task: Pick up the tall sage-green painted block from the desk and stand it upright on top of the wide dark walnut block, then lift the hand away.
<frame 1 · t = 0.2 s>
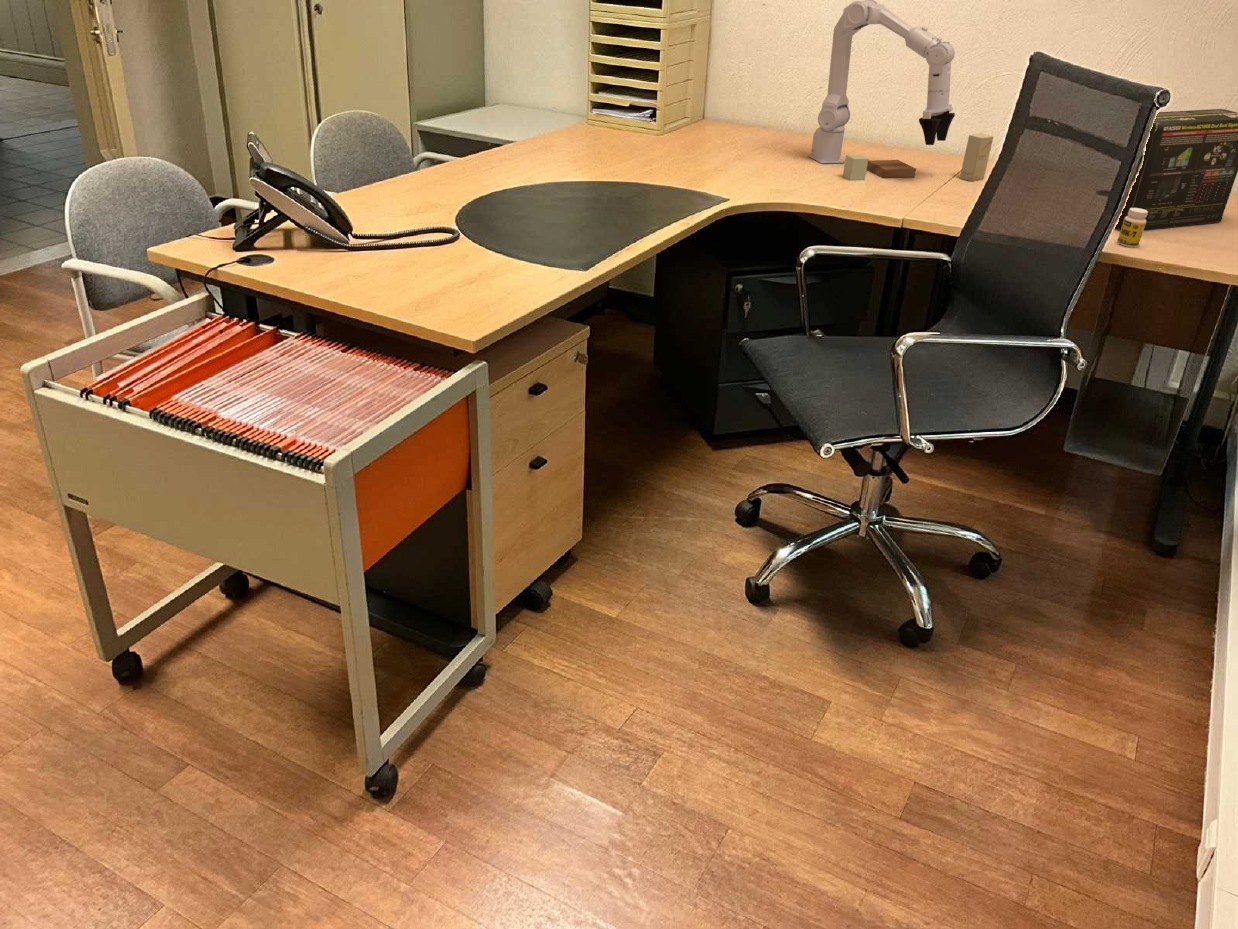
hand: (935, 142, 274), 10 cm above the table, tool pointing down, fingers open, 7 cm apart
sage block: (853, 178, 278), on the table
skincare box: (971, 179, 284), on the table
supplement bottle: (1127, 245, 236), on the table
router box: (1156, 222, 255), on the table
walnut block: (889, 174, 285), on the table
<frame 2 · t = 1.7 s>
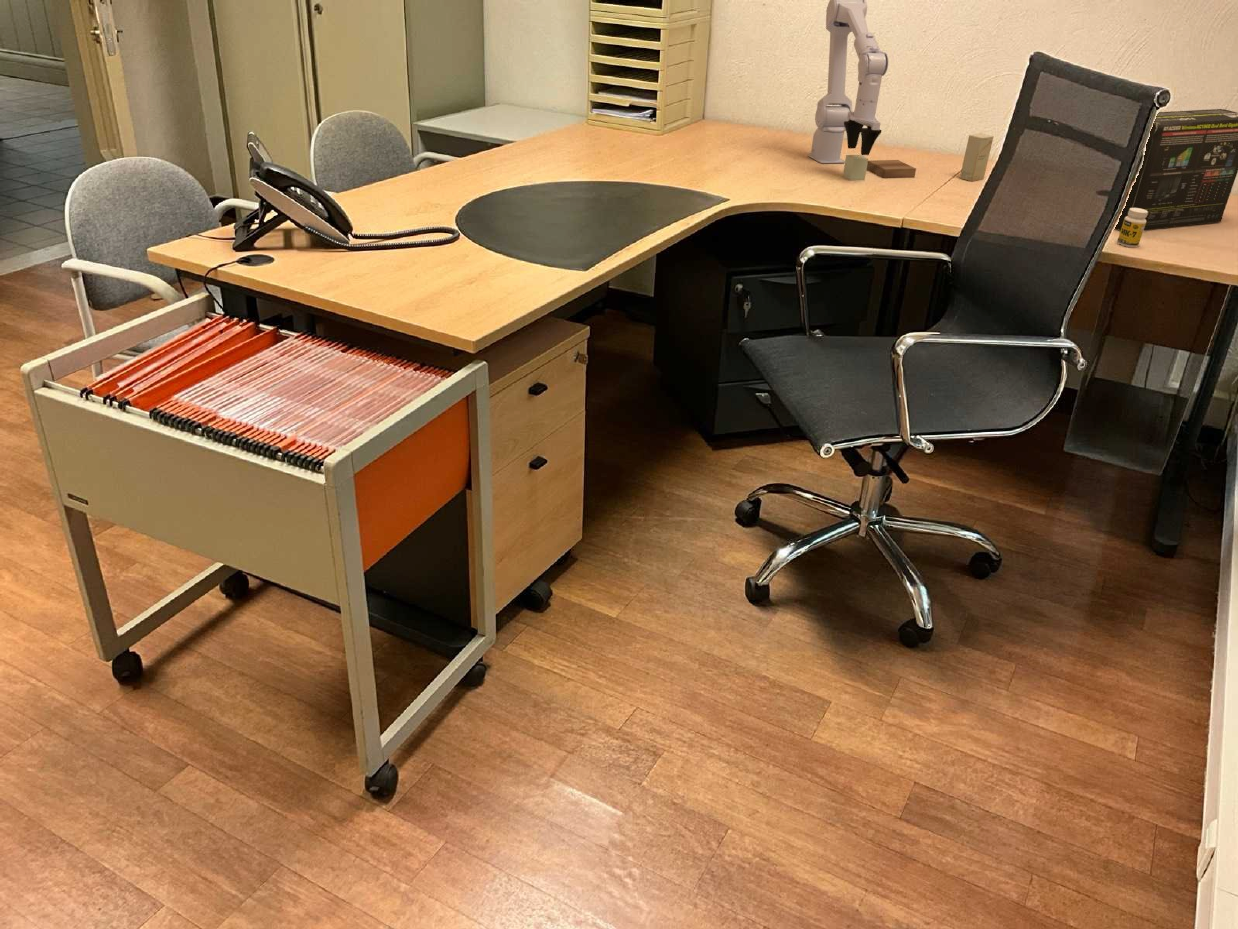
hand: (858, 151, 274), 7 cm above the table, tool pointing down, fingers open, 7 cm apart
nothing on the table moved.
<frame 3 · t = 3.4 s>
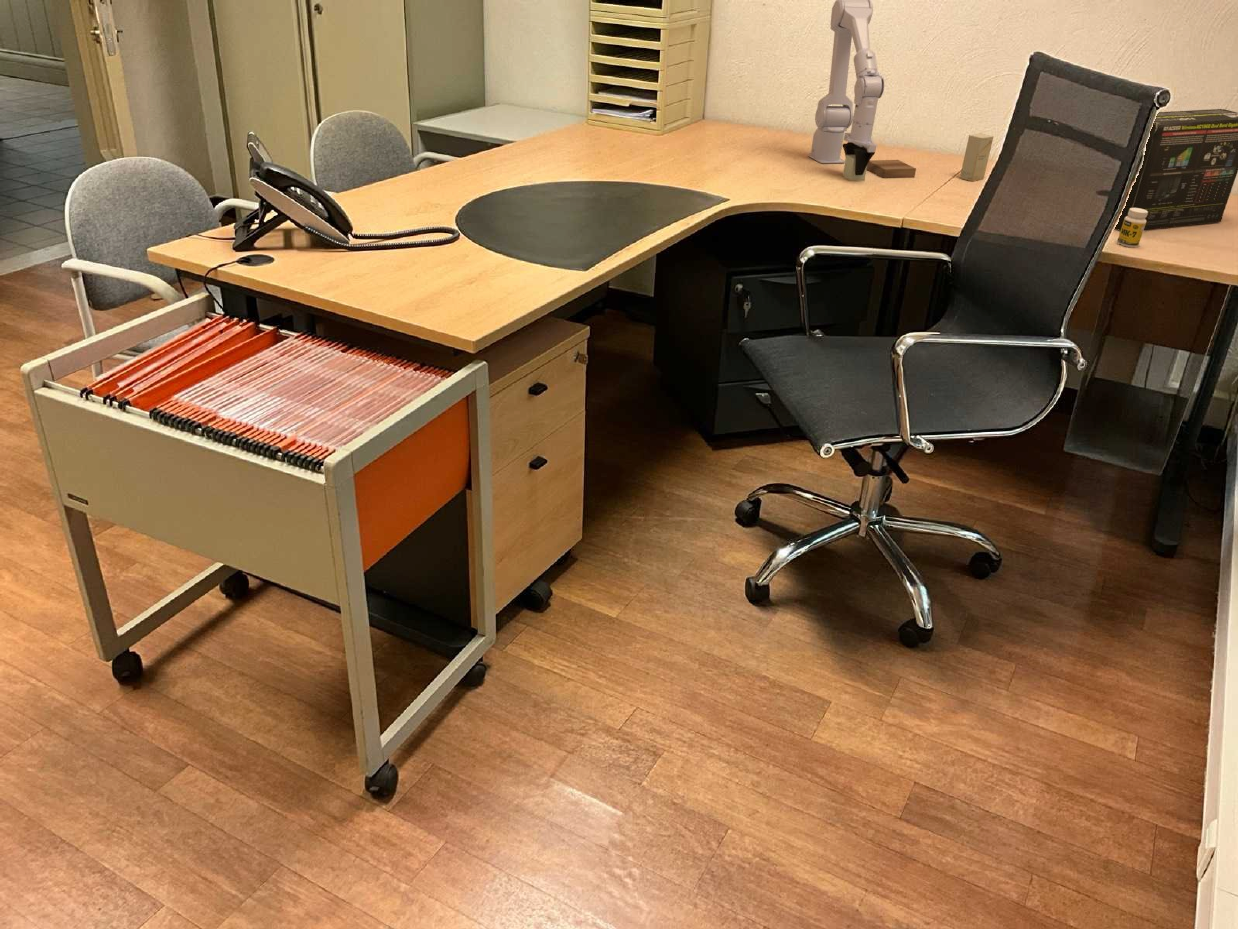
hand: (854, 172, 277), 2 cm above the table, tool pointing down, fingers closed on sage block, 4 cm apart
sage block: (853, 178, 278), on the table, touching gripper
everything else where it was.
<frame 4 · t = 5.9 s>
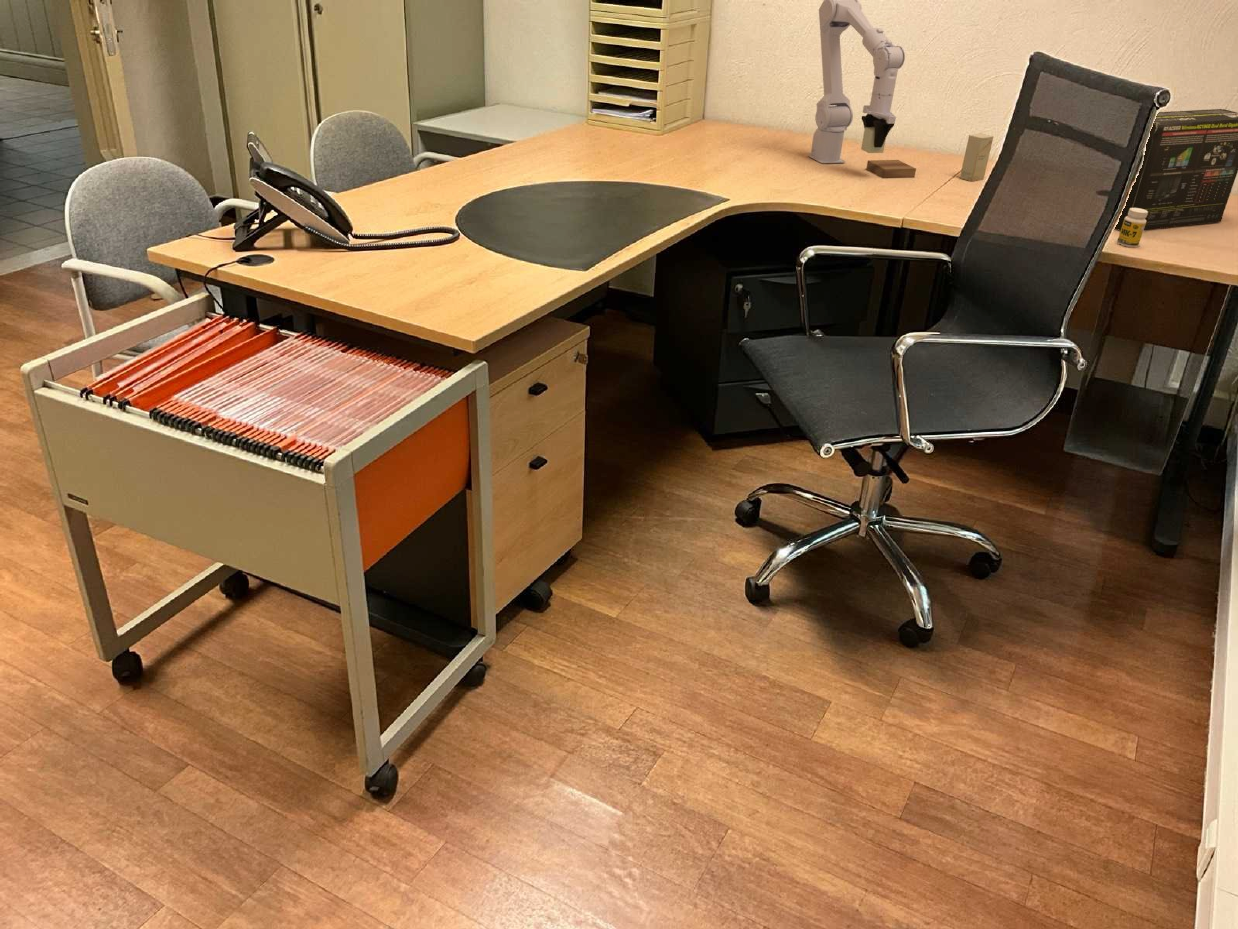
hand: (873, 144, 276), 9 cm above the table, tool pointing down, fingers closed on sage block, 4 cm apart
sage block: (872, 150, 277), point 7 cm above the table, touching gripper
everything else where it was.
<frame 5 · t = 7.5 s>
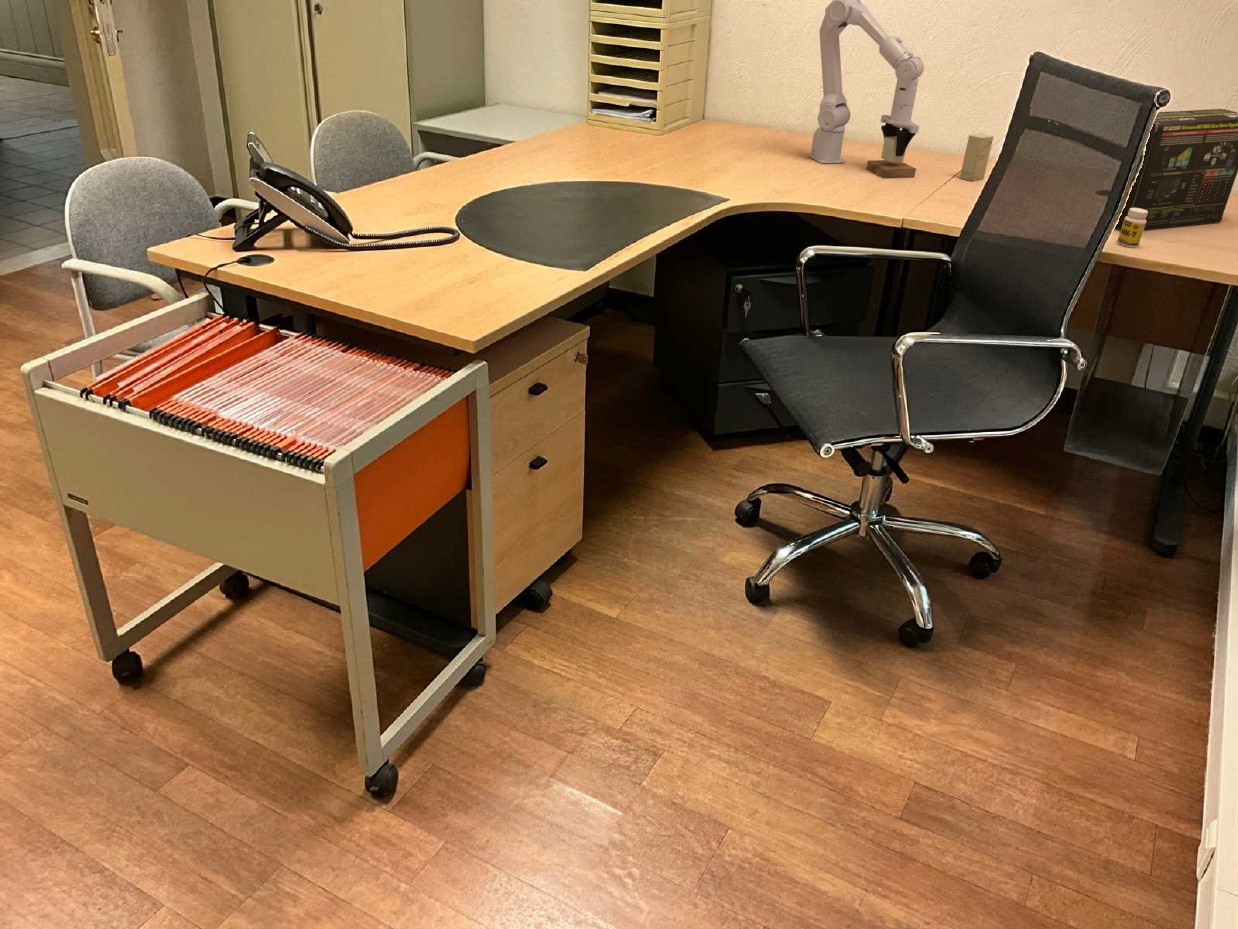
hand: (893, 153, 282), 6 cm above the table, tool pointing down, fingers closed on sage block, 4 cm apart
sage block: (892, 159, 283), point 4 cm above the table, touching gripper
everything else where it was.
when the fingers open (5 cm above the table, at t = 8.7 s): sage block drops 1 cm, point 3 cm above the table.
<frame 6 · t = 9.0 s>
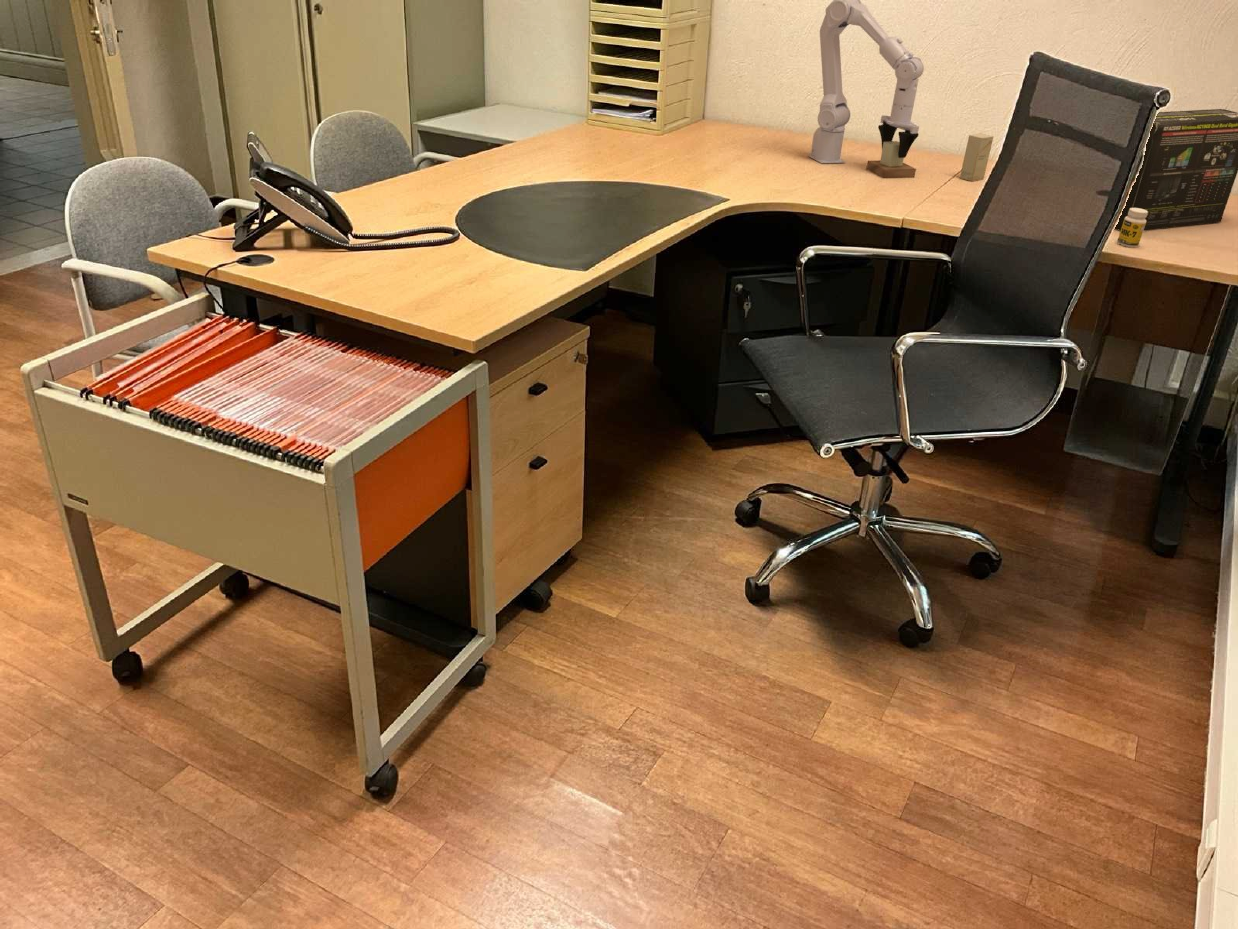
hand: (893, 154, 282), 5 cm above the table, tool pointing down, fingers open, 7 cm apart
sage block: (891, 164, 283), point 3 cm above the table
everything else where it was.
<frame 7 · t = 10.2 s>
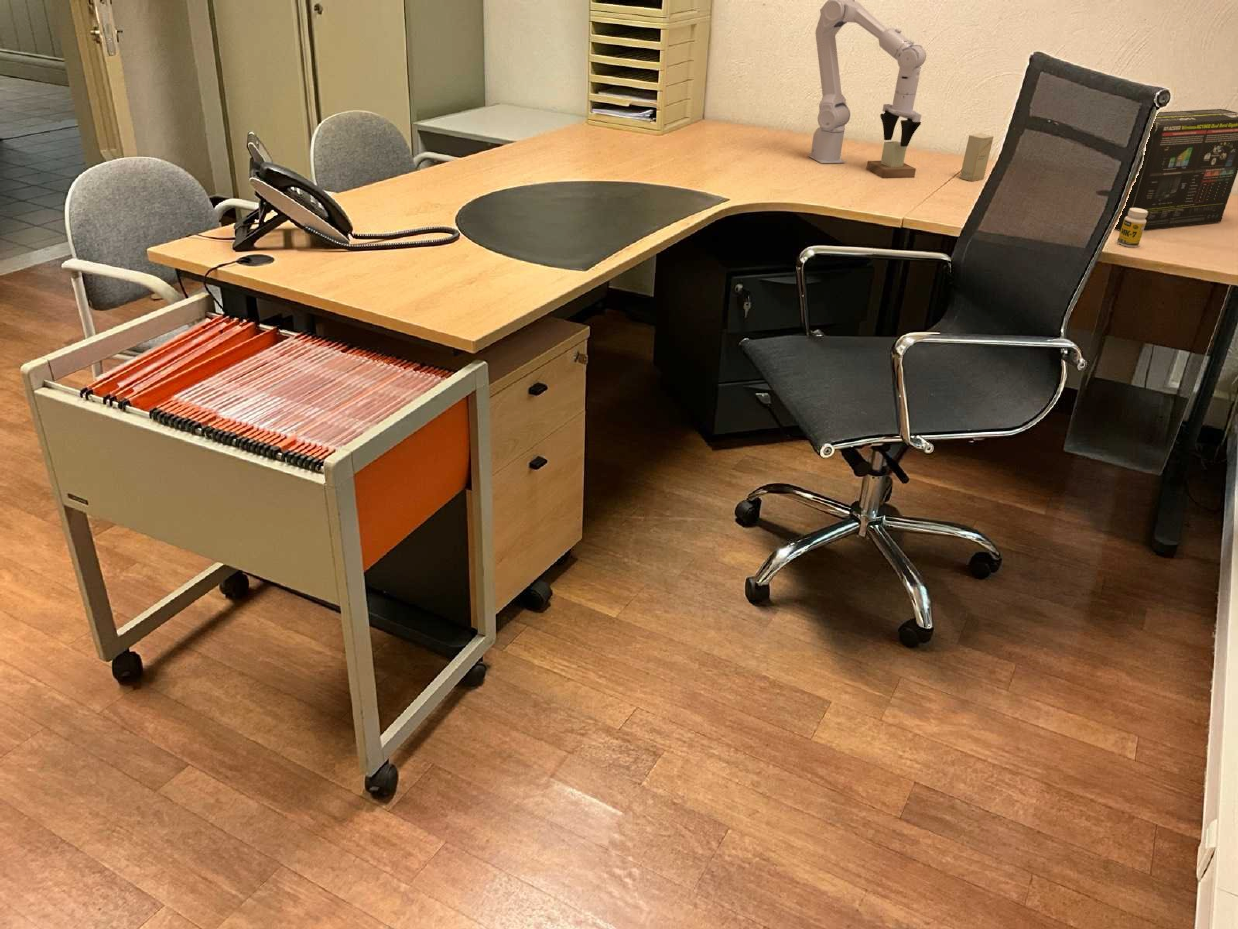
hand: (895, 142, 280), 9 cm above the table, tool pointing down, fingers open, 7 cm apart
nothing on the table moved.
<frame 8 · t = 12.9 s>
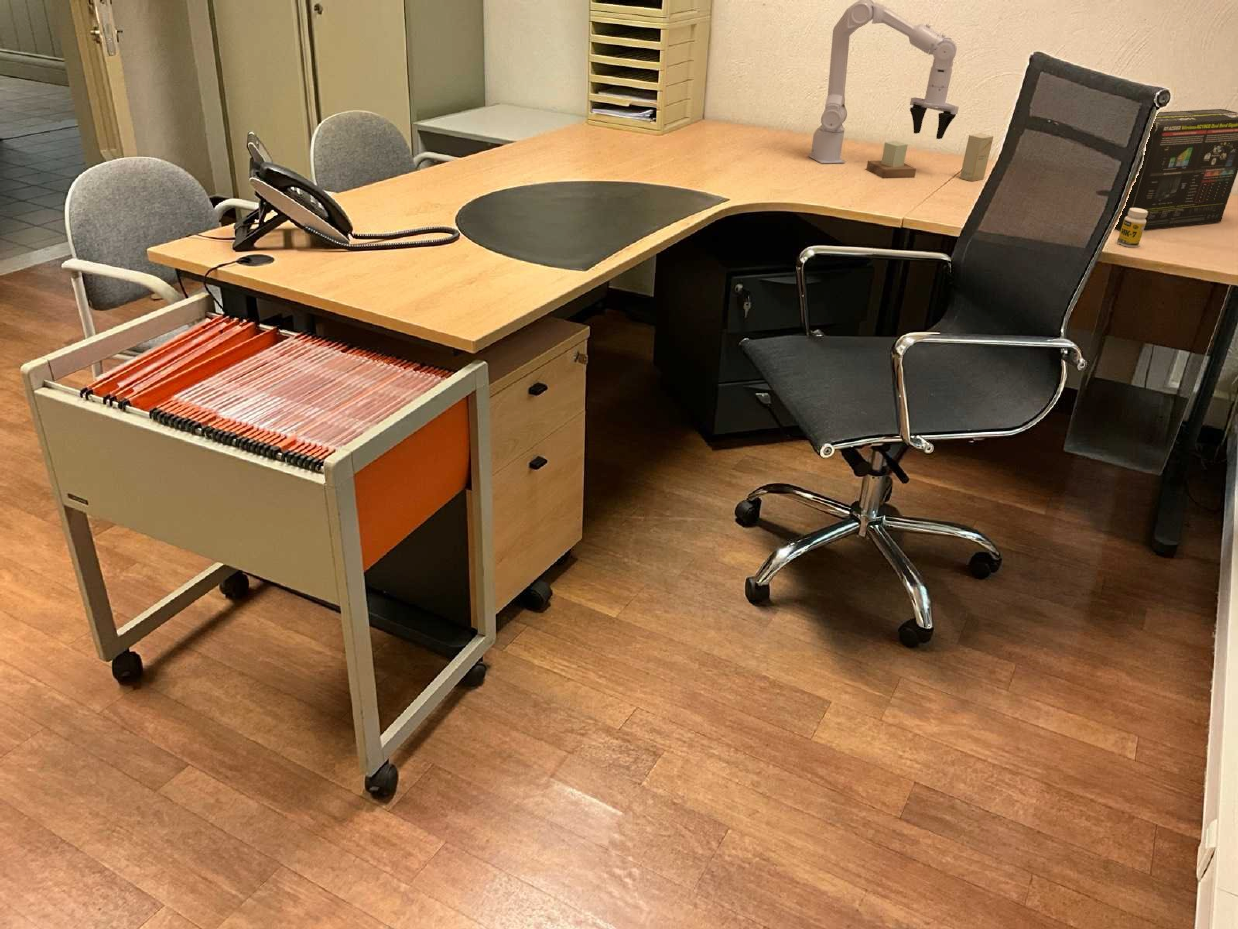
hand: (927, 135, 282), 10 cm above the table, tool pointing down, fingers open, 7 cm apart
nothing on the table moved.
at the end: sage block 0.2 cm off-centre on the walnut block, point 3.0 cm above the walnut block's base; sage block tilted 0°; the gripper is holding nothing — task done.
